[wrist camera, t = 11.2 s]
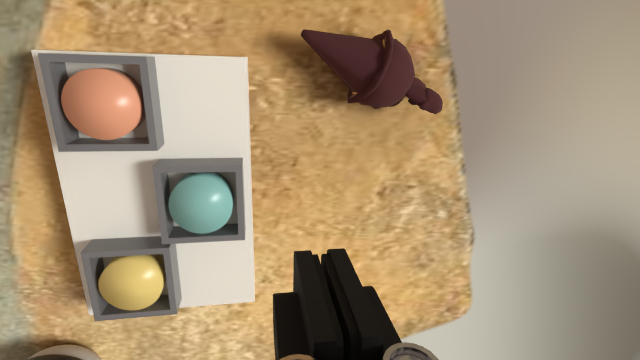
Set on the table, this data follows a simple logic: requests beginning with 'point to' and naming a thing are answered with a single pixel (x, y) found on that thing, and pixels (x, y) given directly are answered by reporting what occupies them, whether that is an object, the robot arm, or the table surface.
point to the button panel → (157, 175)
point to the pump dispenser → (65, 353)
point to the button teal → (201, 202)
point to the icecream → (373, 69)
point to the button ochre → (133, 281)
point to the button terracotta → (103, 103)
